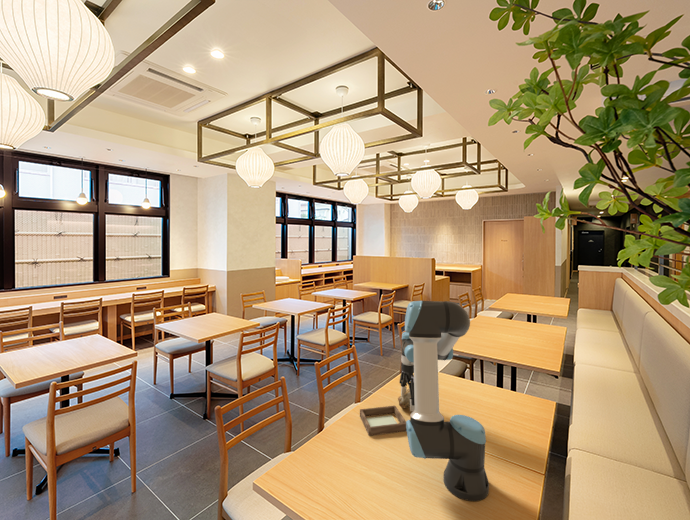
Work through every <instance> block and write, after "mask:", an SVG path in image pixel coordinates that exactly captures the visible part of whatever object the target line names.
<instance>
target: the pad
mask: <svg viewBox="0 0 690 520" xmlns="http://www.w3.org/2000/svg"><path fill="white" fill-rule="evenodd" d="M366 419H367V421H368V423H369V425H370V427H373V426H381V425H390V424H398V422H397V420H396V419H395V417H394V416H393V414H386V415H378V416H369V417H366Z"/></svg>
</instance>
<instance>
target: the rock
mask: <svg viewBox="0 0 690 520" xmlns="http://www.w3.org/2000/svg"><path fill="white" fill-rule="evenodd" d="M410 398H411V395H410V390H409V388H408V389H407V391H405V393H404V395H402V396H401V395H400V396H398V397H397V401H398V406H400V407H401V408H402V409H406V408H410Z"/></svg>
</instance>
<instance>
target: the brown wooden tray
mask: <svg viewBox="0 0 690 520" xmlns="http://www.w3.org/2000/svg"><path fill="white" fill-rule="evenodd" d="M387 415H394V416H395V418H396V419H397V421H398V422H397V424H390V425H381V426H373V427H370V425H369V423H368V421H367V419H366V418H369V417H378V416H387ZM359 417H360V420H361V421H362V424H363V427H364V428H365V431H366V433H367V435H368V437H371V436H379V435H386V434H387V435H388V434H396V433H403V432H404V433H405V432H407V429H406V421H407V420H406V419H405V417H404V416H403V415H402V413H401V412H400V411H399V409H398V408H397V406H396V405H386V406H380V407H370V408H359Z"/></svg>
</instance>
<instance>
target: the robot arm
mask: <svg viewBox="0 0 690 520" xmlns="http://www.w3.org/2000/svg"><path fill="white" fill-rule="evenodd" d="M470 327H471V319H470V315H469V314H468V311H466V310H465V308H464V307H462V306H461V305H460V304H458V303H456V302H453V301H446V300H444V301H440V300H439V301H437V300H435V301H434V300H414V301H413V300H412V301H410V302H409V303H408V304H407V307H406V312H405V317H404V332H402V334H401V355H400V356H401V357H400V358H401V359H400V361H401V363H400V367H401V368H400V370H401V372H400V378H399V385H400V386H401V387H400V396H402V395H404V393H405V391H407V390H408V389H409V390H410V395H411V398H410V406H409V412H411V413H410V414H409V415H410V419H408V420H405V421H406V429H407V431H406V435H407V440H408V441H407V442H408V447H409V450H410V451H409V452H410V454H411V455H412V457H414V458H419V459H420V458H422V459H424V460H426V459H435V460H437V459H439V460H448V462H447V464H446V466H445V468H444V471H443V483H444V485H445V488H446V489H447V490H448V491H449V492H450V493H451V494H453V495H454V496H455V497H457V498H460V499H462V500H464V501H467V502H478V501H482V500H485V499H486V498H487V497H488V495H489V493H490V481H489V479H488V476H487V472H486V469H485V462H486V461H485V460H486V459H485V457H486V442H487V439H486V429H485V427H484V425H482V423H481V422H479V421H478V420H477V419H475V418H473V417H470V416H468V415H464V414H455V415H452V416H451V417H450V418H449V421H445V418H444V416H443V415H442V413H441V412H440V395H439V393H440V392H439V391H440V390H439V389H440V388H439V364H438V363H439V362H438V361H451V360H453V357H454V346H455V345H456V343H457V342H458V341H459V339H460V338H461V337H463V336H465V335H466V334H467V332H468V331H469V330H470ZM407 385H408V389H407Z"/></svg>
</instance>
